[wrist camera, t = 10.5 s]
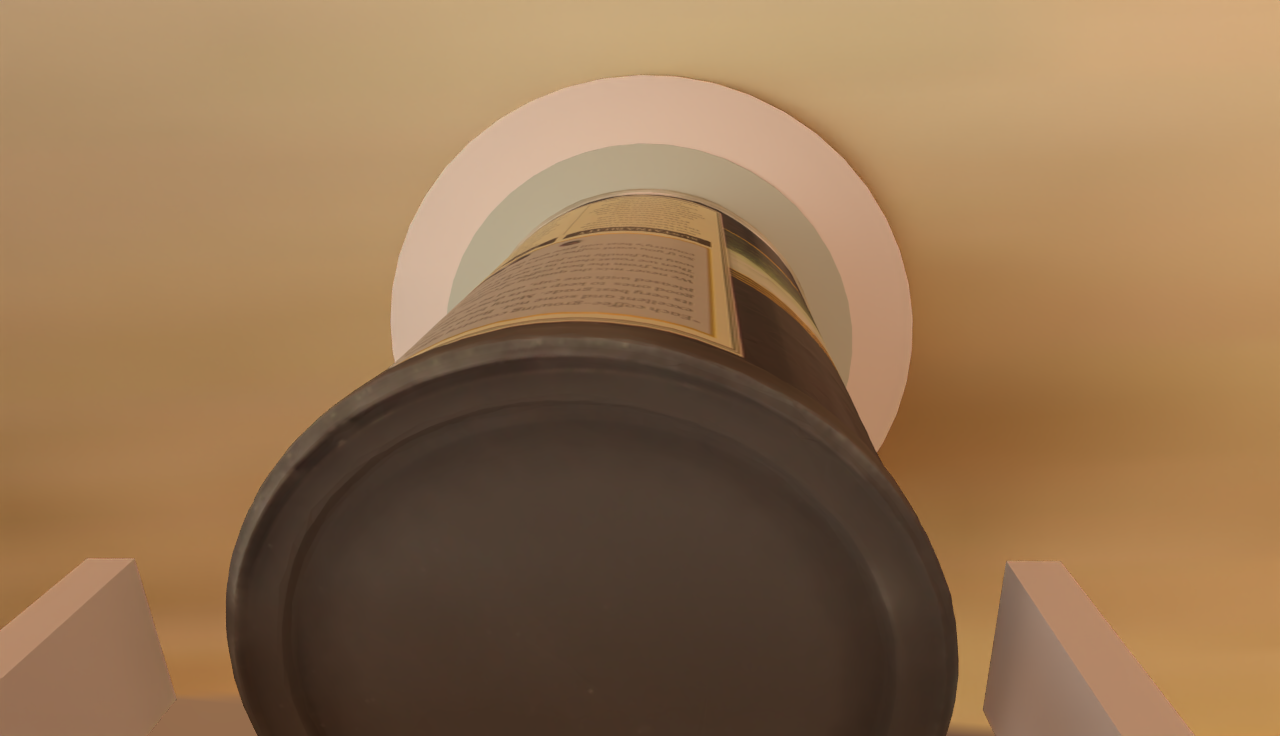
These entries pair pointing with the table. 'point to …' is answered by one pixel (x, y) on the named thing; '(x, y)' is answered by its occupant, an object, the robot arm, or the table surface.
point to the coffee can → (597, 514)
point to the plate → (683, 162)
